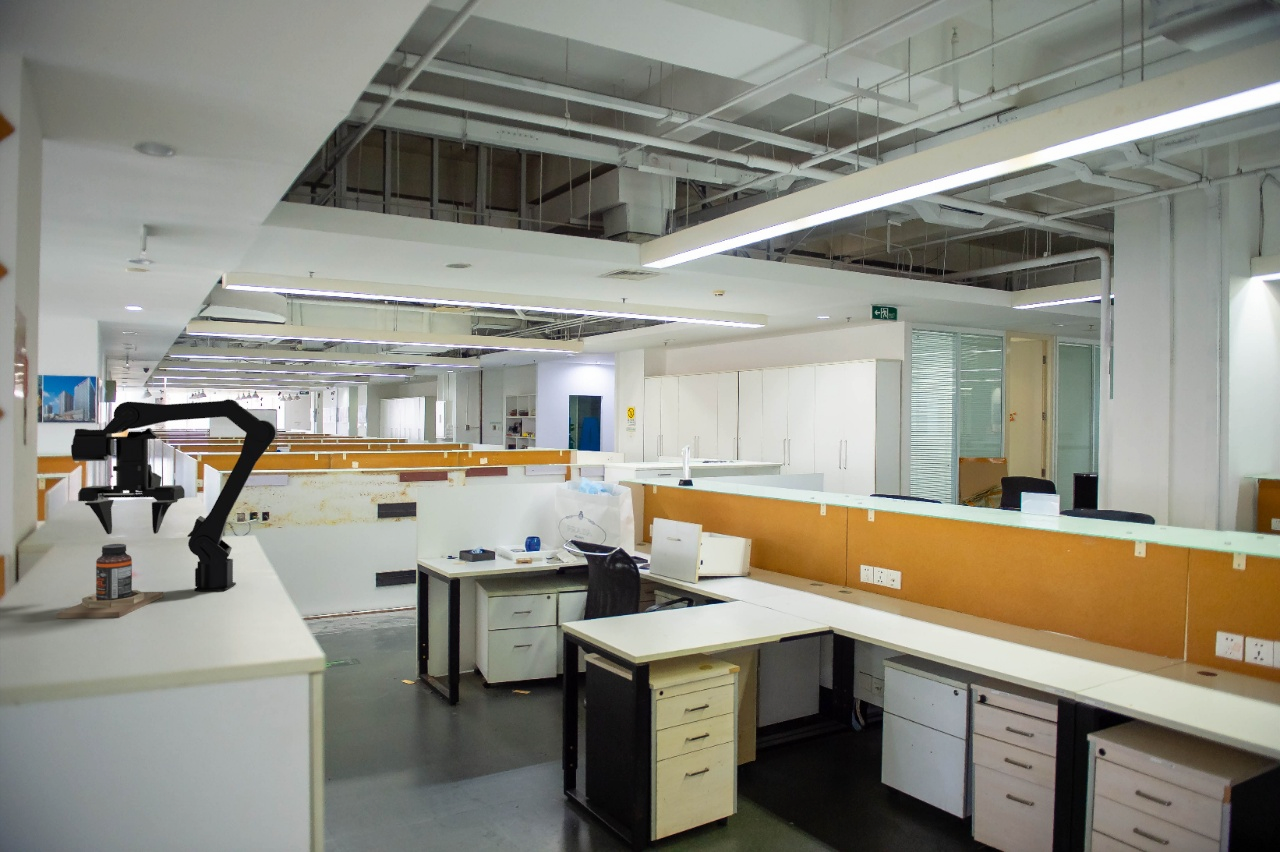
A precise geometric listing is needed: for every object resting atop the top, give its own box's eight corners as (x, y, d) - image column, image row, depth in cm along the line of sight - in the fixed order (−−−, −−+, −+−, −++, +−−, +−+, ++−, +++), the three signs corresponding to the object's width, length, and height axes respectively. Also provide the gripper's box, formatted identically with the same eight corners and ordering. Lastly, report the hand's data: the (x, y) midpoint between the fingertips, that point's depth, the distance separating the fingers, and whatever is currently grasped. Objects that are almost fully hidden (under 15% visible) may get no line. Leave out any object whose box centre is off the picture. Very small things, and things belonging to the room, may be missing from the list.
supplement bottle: (89, 603, 156) (89, 546, 155) (121, 596, 161) (121, 541, 161) (106, 606, 153) (106, 548, 153) (138, 600, 158) (138, 544, 158)
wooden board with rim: (163, 596, 166) (163, 585, 166) (119, 617, 149) (119, 605, 149) (108, 597, 165) (108, 586, 165) (57, 618, 148) (57, 606, 148)
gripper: (195, 458, 176) (195, 527, 177) (105, 458, 174) (105, 528, 174) (172, 461, 165) (172, 535, 165) (76, 461, 163) (76, 536, 163)
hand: (132, 533), depth 167 cm, fingers open, 9 cm apart
